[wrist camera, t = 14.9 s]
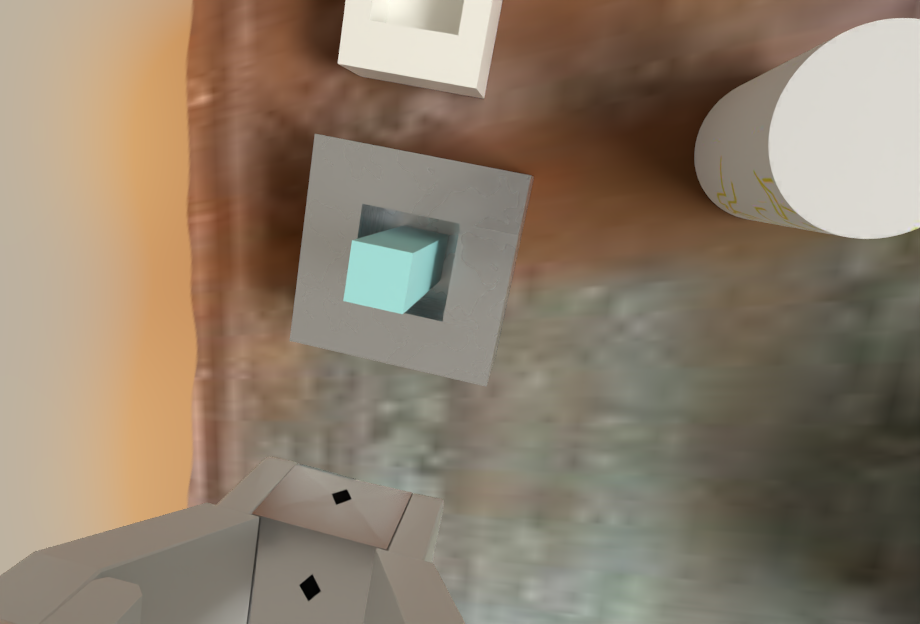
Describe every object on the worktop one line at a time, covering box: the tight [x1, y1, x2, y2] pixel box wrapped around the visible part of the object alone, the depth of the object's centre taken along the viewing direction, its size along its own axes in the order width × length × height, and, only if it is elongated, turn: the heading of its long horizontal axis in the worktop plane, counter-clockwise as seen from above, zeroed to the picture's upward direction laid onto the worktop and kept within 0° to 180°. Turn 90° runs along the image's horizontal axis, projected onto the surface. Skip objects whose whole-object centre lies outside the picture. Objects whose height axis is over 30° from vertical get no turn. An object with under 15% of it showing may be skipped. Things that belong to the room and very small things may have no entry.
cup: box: [694, 18, 920, 239], centre depth 28 cm, size 8×8×12 cm
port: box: [290, 134, 534, 386], centre depth 35 cm, size 12×12×6 cm
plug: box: [343, 225, 449, 314], centre depth 32 cm, size 3×3×10 cm
